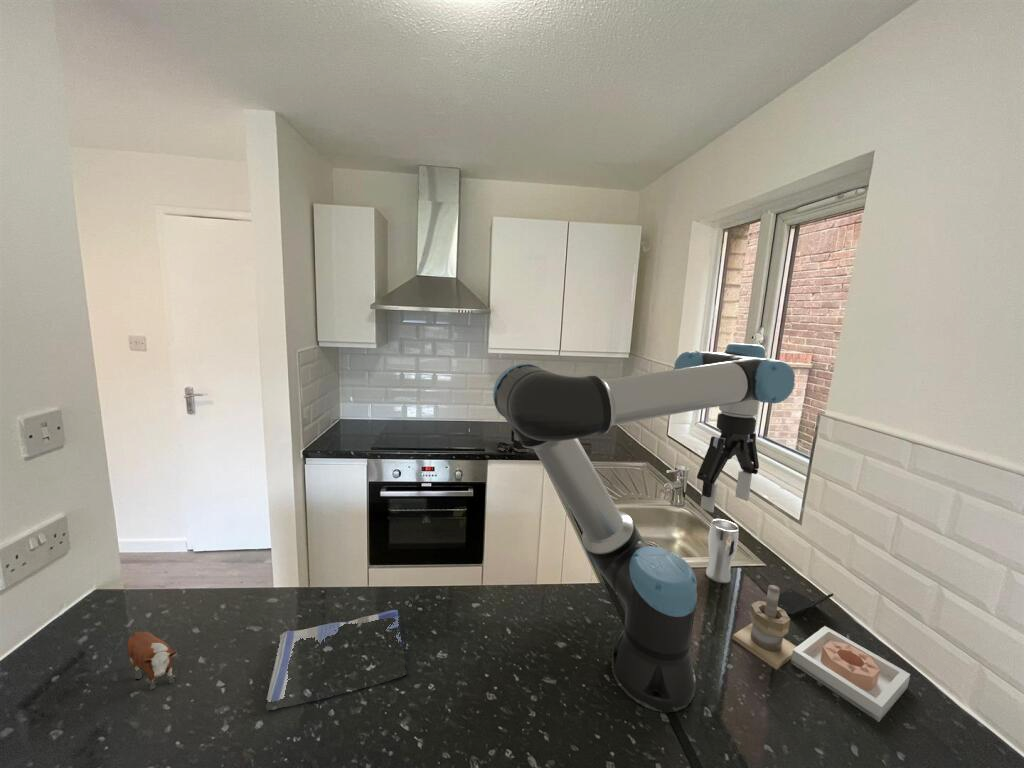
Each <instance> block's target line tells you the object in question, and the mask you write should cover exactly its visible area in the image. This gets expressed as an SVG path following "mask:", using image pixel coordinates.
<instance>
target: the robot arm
mask: <svg viewBox="0 0 1024 768" xmlns="http://www.w3.org/2000/svg"><path fill="white" fill-rule="evenodd" d="M791 366H792V365H790V364H788V363H787V362H785V361H782V360H778V359H772V358H770V357H767V358H766V349H765V347H764V346H763V345H761V344H751V343H750V344H749V343H734V342H733V343H728V344H727V345H726V349H725V351H724V352H715V351H714V352H713V351H697V350H695V351H685V352H682V353H681V354H679V355H678V357H677V358H676V360H675V362H674V368H673V369H670V370H663V371H656V372H655V371H654V372H651V373H643V374H636V375H635V374H634V375H630V376H628V375H627V376H623V377H617V378H611V379H610V378H609V379H602V377H601V376H598V375H595V374H594V375H588V376H567V375H563V374H562V375H561V374H556V373H554V372H551V371H548V370H545V369H543V368H541V367H539V366H537V365H535V364H529V363H524V364H523V363H521V364H515V365H513V366H510V367H508V368H506V369H505V370H504V371H503V372H502V373H500V375H499V376H498V378H497V379H496V381H495V383H494V386H493V390H492V391H493V392H492V399H493V404H494V406H495V408H496V410H497V412H498V413H499V414H500V416H502V417H503V418H504V419H505V421H506V423H507V424H508V425H509V427H510V428H511V430H513V432H514V433H515V435H516V436H517V438H518V440H519V441H520V443H521V444H522V446H524V447H526V448H530V449H532V450H533V451H534V453H535V454H536V455H537V457H538V459H539V461H540V462H541V464H542V466H543V467H544V469H545V470H546V472H547V473H548V475H549V477H550V479H551V480H552V482H553V484H554V485H555V487H556V488H557V490H558V492H559V493H560V495H561V497H562V499H564V501H565V503H566V505H567V507H568V509H569V510H570V511H571V513H572V515H573V516H574V518H575V520H576V521H577V523H578V524H579V526H580V528H581V530H582V535H581V540H582V541H581V542H582V544H583V546H584V548H585V550H586V555H587V556H588V558H589V561H590V562H591V564H592V566H594V567H595V568H596V570H597V571H598V572H599V573H600V574H601V575H602V577H603V578H604V579H605V580H606V582H607V583H608V584H609V586H610V587H611V588H612V590H613V591H614V592H615V593H616V595H617V596H618V597H619V598H620V600H621V601H622V602H623V604H624V606H625V616H624V627H623V630H622V632H621V633H620V636H619V638H618V639H617V641H616V643H615V645H614V647H613V649H612V654H611V661H612V667H613V670H614V673H615V675H616V677H617V678H618V680H619V682H620V683H621V684H622V686H623V687H624V688H625V689H626V690H627V691H628V692H629V693H630V694H631V695H632V696H633V697H635V698H636V699H638V700H640V701H642V702H645V703H647V704H649V705H650V706H652V707H654V708H656V709H658V710H661V711H663V712H662V713H665V714H667V713H668V714H670V713H669V711H670V709H671V708H672V707H675V708H677V707H681V706H685V705H687V704H688V703H689V702H691V700H692V699H693V700H694V698H693V697H695V694H694V693H695V692H696V686H697V683H696V682H697V680H696V678H697V677H696V675H695V674H696V673H695V670H694V667H693V663H692V659H691V653H690V647H691V646H690V645H691V640H692V633H693V632H692V631H693V626H694V619H695V615H696V614H695V613H696V612H695V611H696V606H697V600H698V592H697V586H698V582H697V578H696V577H697V576H696V573H695V572H694V571H693V568H692V567H691V566H690V564H689V563H688V562H687V560H685V559H684V558H682V556H680V555H678V554H677V553H675V552H673V551H670V552H669V551H668V550H667V549H666V548H663V547H658V546H653V545H650V544H649V543H648V542H646V541H645V539H644V538H643V536H642V535H641V534H640V532H639V530H638V528H637V526H636V525H635V523H634V521H633V519H632V518H631V516H630V515H629V514H628V513H626V512H623V511H621V510H619V509H618V507H617V505H616V504H615V502H614V500H613V498H612V496H611V495H610V493H609V491H608V490H607V488H606V486H605V485H604V483H603V481H602V479H601V477H600V476H599V473H598V472H597V470H596V468H595V467H594V465H593V463H592V462H591V460H590V458H589V455H587V453H586V451H585V449H584V447H583V446H582V445H583V444H581V442H580V440H579V439H583V438H591V437H593V436H599V435H603V434H607V433H608V432H609V431H610V430H611V428H612V426H617V425H623V424H629V423H634V422H638V421H645V420H651V419H656V418H661V417H667V416H672V415H676V414H682V413H683V414H684V413H687V412H692V411H693V412H694V411H700V410H705V409H710V408H715V407H718V410H720V411H719V412H718V413H717V418H716V419H717V420H716V428H717V429H718V430H720V432H721V433H720V436H719V437H718V436H717V437H716V436H713V435H712V436H711V437H710V441H709V445H708V448H707V451H706V453H705V456H704V458H703V460H702V463H701V466H700V467H699V470H698V472H697V475H696V479H697V480H700V481H702V491H701V501H700V509H703V510H705V511H706V512H709V513H714V512H715V504H716V498H717V497H716V496H717V488H718V483H716V481H717V479H718V478H719V476H720V474H721V473H722V471H723V469H724V467H725V465H727V464H726V463H727V462H728V461H729V460H731V459H733V457H734V456H735V457H736V459H737V462H738V464H739V466H740V469H741V470H738V475H737V481H736V489H735V495H734V496H735V498H738V499H740V500H743V501H746V502H748V501H749V498H750V492H751V491H750V490H751V483H752V479H753V478H752V477H753V475H757V474H758V473H759V467H760V464H759V463H760V462H759V455H758V450H757V443H756V442H757V441H756V440H757V433H755V432H756V425H757V418H756V416H757V415H758V411H759V405H760V404H759V403H760V402H761V403H763V404H764V403H768V404H779V403H782V402H784V401H785V400H787V399H788V398H789V397H790V396H791V394H792V393H793V390H794V388H795V384H796V383H795V381H796V380H795V378H796V376H795V375H796V374H795V371H794V370H793V368H792V367H791ZM691 703H692V702H691Z"/></svg>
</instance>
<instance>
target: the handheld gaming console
mask: <svg viewBox="0 0 1024 768" xmlns="http://www.w3.org/2000/svg"><path fill="white" fill-rule="evenodd" d="M833 596H834V593H830V594H827V595H826V596H823V597H821V598H819V599H816V600H815V599H813V600H812V599H810V598H808V597H806V596H805V595H803V594H801V593H799V592H797V591H796V590H794V589H792V588H788V589H786V590H785V591H783V592H781V593H779V599H778V605H777V606H778V607H779V608H781V609H783V610H784V611H785V612H786V613H787V615H788V617H789V618H790V619H792V620H793V619H795V618H796V617H798V616H799V615H801V614H803V613H805V612H806V611H808V610H811V609H814V608H815V607H816V606H817V605H819V604H822V603H824V602H825V601H826V600H828V599H830V598H831V597H833Z"/></svg>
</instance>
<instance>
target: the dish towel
mask: <svg viewBox="0 0 1024 768" xmlns="http://www.w3.org/2000/svg"><path fill="white" fill-rule="evenodd" d="M398 614H399V611H398V610H397V609H393V610H391V609H389V610H388V611H383V612H380V613H377V614H373V615H367V616H362V617H359V618H356V619H354V620H353V619H352V620H349V621H343V622H342V621H339V622H330V623H326V624H322V625H321V624H320V625H317V626H314V627H309V628H305V629H299V630H298V629H297V630H287V631H284V632H282V633H281V634H279V642H280V643H278V646H279V648H278V647H277V651H278V652H277V651H276V655H277V656H275V660H274V666H273V669H274V670H272V674H271V677H270V682H269V688H268V692H267V696H266V700H268V702H271V701H272V702H274V701H279V700H280V699H283V698H284V697H285V696H284V695H285V690H286V685H287V682H288V680H290V679H291V678H290V679H288V674H287V673H288V671H287V669H288V664H289V663H288V662H289V660H290V657H291V656H292V655H291V654H292V653H293V651H292V649H293V648H294V645H295V644H294V643H295V642H296V641H298V640H300V638H301V639H302V638H303V639H304V640H306V638H311V637H312V638H314V637H315V641H316V640H318V642H319V643H320V644H321V642H322V640H323V639H324V642H325V638H326V637H327V636H331V635H335V634H336V633H337V632H338V630H339V629H338V628H339V627H341V626H343V625H344V624H351V623H352V624H355V623H356V624H357V623H359V624H361V623H366V622H367V623H368V622H371V621H375V620H379V619H384V618H386V619H387V618H394V619H395V620H396V621H395V622H393V624H394V625H393V624H392V625H391V624H390V625H391V626H390V625H389V626H390V627H389V626H388V627H387V629H393V628H396V627H397V628H398V626H399V624H398V623H399V622H398V620H399V619H398V618H399V617H400V615H399V616H398ZM387 629H386V630H387ZM335 630H336V631H335ZM398 631H399V630H398ZM397 633H398V632H397ZM399 634H400V632H399V633H398V635H397V634H396V638H397V639H398V643H399V641H400V642H402V640H401V636H400V637H399ZM394 637H395V636H394ZM396 641H397V640H396ZM400 646H401V645H400ZM287 679H288V680H287Z"/></svg>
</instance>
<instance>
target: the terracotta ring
mask: <svg viewBox="0 0 1024 768" xmlns="http://www.w3.org/2000/svg"><path fill="white" fill-rule="evenodd" d="M821 661H822V663H823V665H824V666H826V667H827V668H829V669H830V670H832V671H834V672H835V673H837V674H838V675H840V676H841V677H843V678H845V679H846V680H848V681H849V682H851V683H852V684H854V685H856V686H857V687H859V688H860V689H863V690H867V691H871V690H872V689H873V687H874V686H875V685H876V684H877V682H878V677H879V672H880V669H879V668H878V667H877V665H876V664H875V663H874V661H873V660H872V659H871V658H870V656H868V655H866V654H865V653H863V652H861V651H860V650H858V649H856V648H854V647H853V646H851V645H849V644H844V643H839V642H834V641H829V642H828V643H827V644H826V645H824V646H823V649H822V654H821Z"/></svg>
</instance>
